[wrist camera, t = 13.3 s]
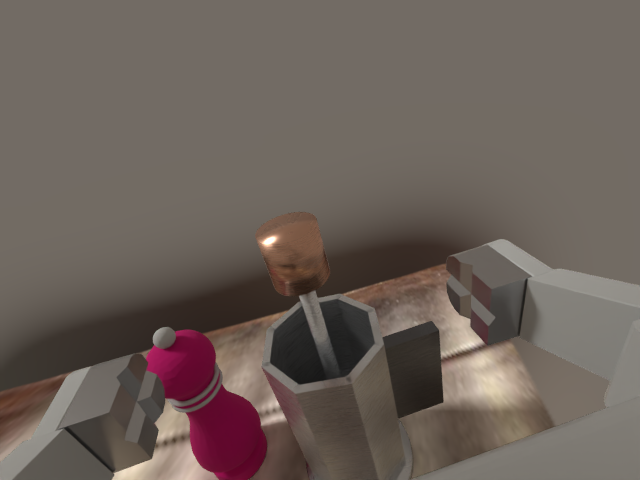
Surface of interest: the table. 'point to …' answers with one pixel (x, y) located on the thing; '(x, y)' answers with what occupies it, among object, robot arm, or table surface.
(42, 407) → the table surface
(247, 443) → the pepper mill
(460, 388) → the table surface
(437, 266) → the table surface
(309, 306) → the plunger
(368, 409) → the press
